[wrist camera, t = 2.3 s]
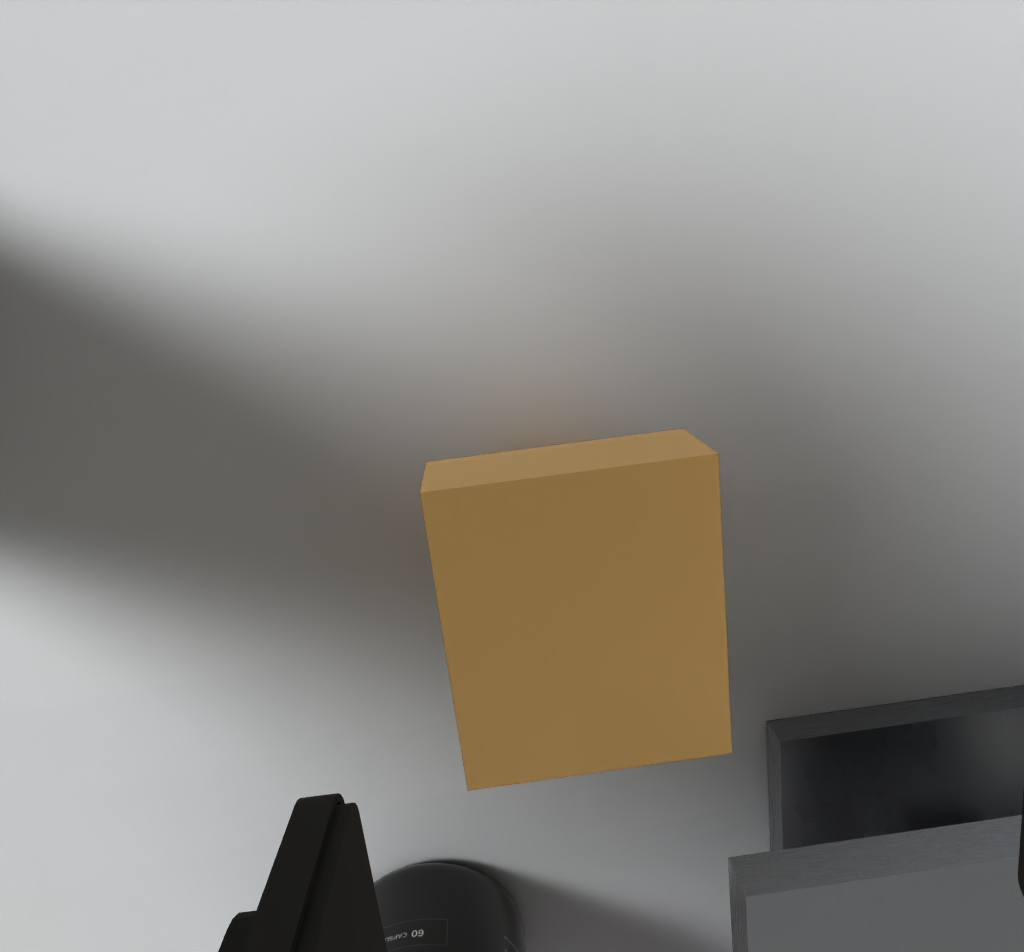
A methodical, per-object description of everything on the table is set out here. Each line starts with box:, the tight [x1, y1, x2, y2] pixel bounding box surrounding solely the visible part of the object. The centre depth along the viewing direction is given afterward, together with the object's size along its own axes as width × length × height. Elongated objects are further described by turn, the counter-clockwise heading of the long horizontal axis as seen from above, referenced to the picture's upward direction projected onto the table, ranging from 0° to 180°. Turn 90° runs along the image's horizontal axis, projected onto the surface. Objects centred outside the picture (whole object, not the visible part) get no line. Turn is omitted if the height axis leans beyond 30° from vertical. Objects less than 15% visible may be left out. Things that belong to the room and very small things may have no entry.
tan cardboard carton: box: [420, 428, 732, 791], centre depth 20 cm, size 7×6×8 cm
